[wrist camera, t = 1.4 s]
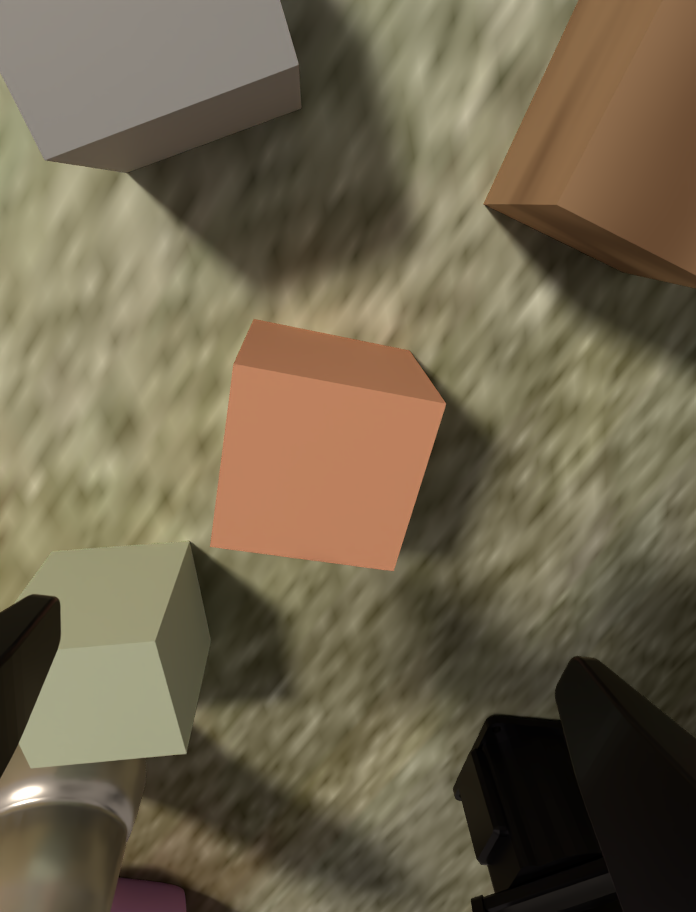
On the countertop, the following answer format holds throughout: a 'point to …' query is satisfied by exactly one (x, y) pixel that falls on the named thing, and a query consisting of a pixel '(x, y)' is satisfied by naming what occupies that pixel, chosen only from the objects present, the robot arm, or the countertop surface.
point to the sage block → (119, 655)
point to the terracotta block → (323, 447)
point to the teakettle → (147, 897)
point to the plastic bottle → (65, 833)
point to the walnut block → (613, 140)
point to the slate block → (144, 74)
